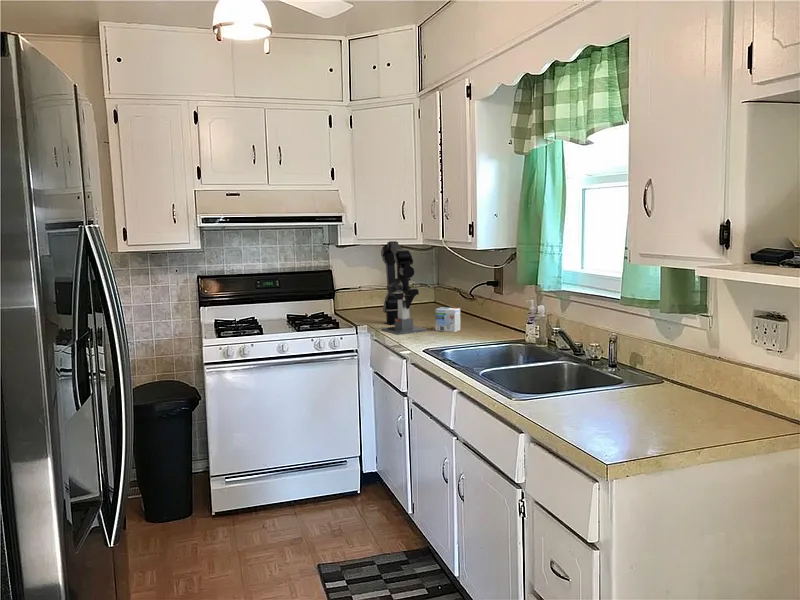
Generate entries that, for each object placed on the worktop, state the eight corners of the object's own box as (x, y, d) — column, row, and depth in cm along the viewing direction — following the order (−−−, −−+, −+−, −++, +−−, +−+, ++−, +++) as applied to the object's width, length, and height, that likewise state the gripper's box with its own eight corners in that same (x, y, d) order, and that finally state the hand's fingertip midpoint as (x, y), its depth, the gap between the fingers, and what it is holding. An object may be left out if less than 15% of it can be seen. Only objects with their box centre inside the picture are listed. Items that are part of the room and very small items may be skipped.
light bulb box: (435, 330, 326) (434, 308, 325) (440, 328, 332) (440, 307, 331) (455, 332, 321) (455, 309, 320) (460, 330, 327) (460, 308, 326)
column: (397, 320, 328) (397, 299, 327) (405, 319, 331) (404, 299, 329) (402, 321, 325) (402, 300, 324) (409, 320, 327) (409, 299, 326)
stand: (381, 330, 331) (381, 318, 330) (408, 326, 339) (408, 315, 339) (399, 334, 317) (398, 322, 317) (426, 330, 326) (426, 318, 325)
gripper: (378, 276, 329) (379, 307, 330) (399, 278, 313) (400, 312, 315) (397, 274, 334) (398, 305, 336) (419, 277, 319) (419, 309, 321)
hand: (403, 308), depth 327 cm, fingers open, 7 cm apart
